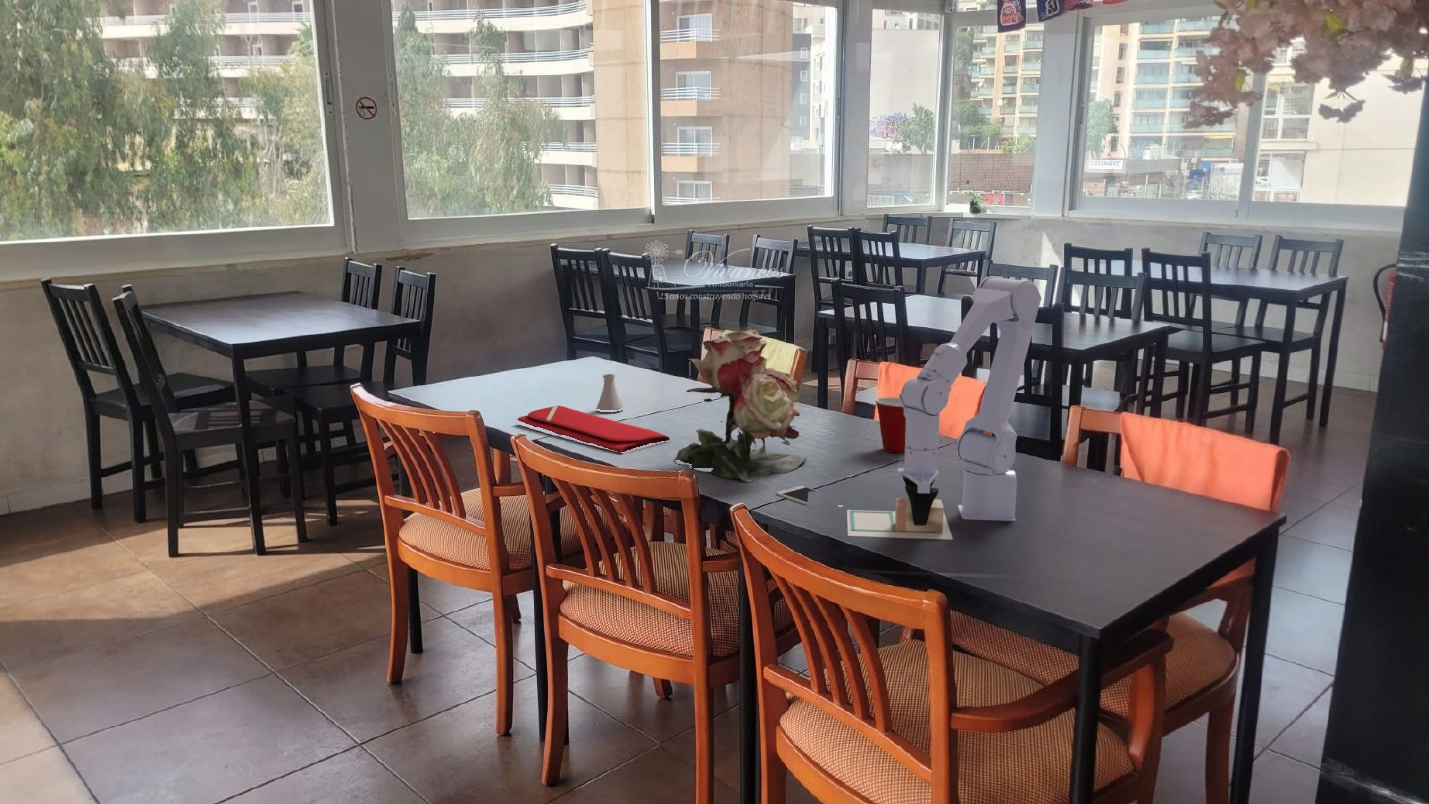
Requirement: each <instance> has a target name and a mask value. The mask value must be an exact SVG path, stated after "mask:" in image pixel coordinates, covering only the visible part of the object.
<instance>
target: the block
mask: <svg viewBox="0 0 1429 804" xmlns="http://www.w3.org/2000/svg"><path fill="white" fill-rule="evenodd" d="M894 509H895V510H894V511H895V525H896V531H922V532H943V513H944V514H945V512H944V510H945V508H944V504H943V502H942V499H939V498H938V499H936V498H935V499H934V501H933V503H932V506H931V509H930V513H929V517H928V521H927V524H926V526H918V525H914V523H913V518H912V509H911V503H910V499H909V498H903V497H900V498H899V497H897V498H896V497H895V507H894Z"/></svg>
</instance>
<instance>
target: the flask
mask: <svg viewBox="0 0 1429 804" xmlns="http://www.w3.org/2000/svg"><path fill="white" fill-rule="evenodd" d="M615 377H616V374H613V373H605V374H603V375H602V378H603V388H602V392H601V395H600V398H599V399H598V400H599V401H598V403H597V405H596V409H600V410H619V409H621V408H622V407H623V408H624V405H623V404H622V401H621V399H620V396H619V393H618V391H617V388H616V384H615V383H616V382H615Z"/></svg>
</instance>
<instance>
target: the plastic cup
mask: <svg viewBox="0 0 1429 804" xmlns="http://www.w3.org/2000/svg"><path fill="white" fill-rule="evenodd" d="M874 402H875V404H876V409H877V414H878V420H879V427H880V428H879V429H880V436H881V440H882V441H881V443H882V447H883V451H884V452H887V453H891V452H897V453H896V454H900V453H899V452H904V453H905V433H906V418H905V416H904V408H903V406H902V404H901V402H900V399H899V397H895V396H894V397H889V396H888V397H887V396H883V397H877V398H874Z"/></svg>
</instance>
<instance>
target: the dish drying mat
mask: <svg viewBox="0 0 1429 804" xmlns="http://www.w3.org/2000/svg"><path fill="white" fill-rule="evenodd" d="M517 420H519V421H521V422H524V423H526V424H529V425H532V426H534V427H540V428H543V429H546V430H549V431H552V432H554V433H556V434H559V435H566V436H569V437H572V438H575V439H577V440H580V441H583V442H586V443H593V444H596V445H598V446H602V447H604V448H608V449H610V450H614V451H617V452H625V451H627V450H631V449H633V448H636V447H640V446H643V445H647V444H649V443H657V442H661V441H667V440H669V441H670V439H671V438H670V436H667V435H666V434H662V433H661V432H658V431H655V430H651V429H648V428H644V427H641V426H640V427H639V426H635V425H632V424H627V423H624V422H623V423H622V422H619V421H616V420H612V419H609V418H605V417H603V416H598V415H595V414H592V413H587V412H583V411H580V410H577V409H573V408H570V407H567V406H563V405H554V406H549V407H546V408H540V409H535V410H532V411H529V413H527V415H523V416H520V417H517ZM517 420H516V421H517Z"/></svg>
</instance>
